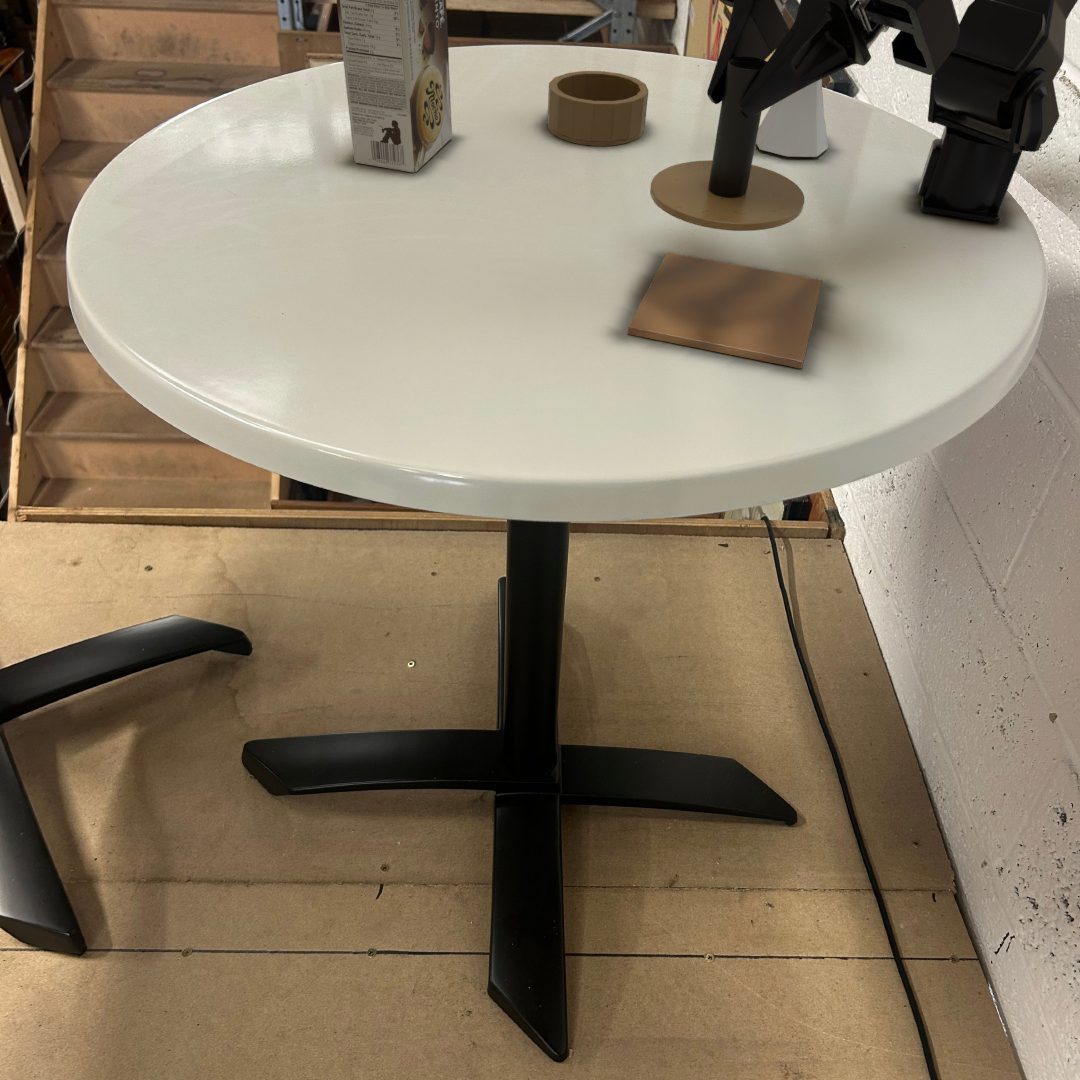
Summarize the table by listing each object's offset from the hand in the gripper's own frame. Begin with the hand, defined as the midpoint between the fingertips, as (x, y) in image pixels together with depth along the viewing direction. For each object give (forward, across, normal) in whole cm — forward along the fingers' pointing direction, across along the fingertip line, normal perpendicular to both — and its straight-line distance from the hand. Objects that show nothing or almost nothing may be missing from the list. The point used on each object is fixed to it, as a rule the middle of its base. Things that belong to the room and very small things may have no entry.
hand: (726, 106), depth 58 cm
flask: (-10, -18, +30) cm, 36 cm away
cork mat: (+9, +2, +10) cm, 14 cm away
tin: (-1, -31, +20) cm, 37 cm away
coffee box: (+13, -36, +7) cm, 39 cm away
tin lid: (+3, 0, +5) cm, 6 cm away
